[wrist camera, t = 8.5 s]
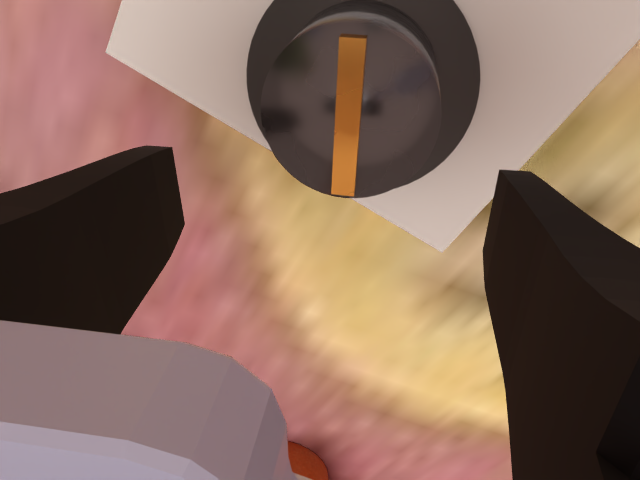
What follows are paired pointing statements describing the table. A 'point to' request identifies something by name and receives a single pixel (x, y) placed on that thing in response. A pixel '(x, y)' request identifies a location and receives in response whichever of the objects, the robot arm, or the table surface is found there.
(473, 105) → the board
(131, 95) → the table surface
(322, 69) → the knob
